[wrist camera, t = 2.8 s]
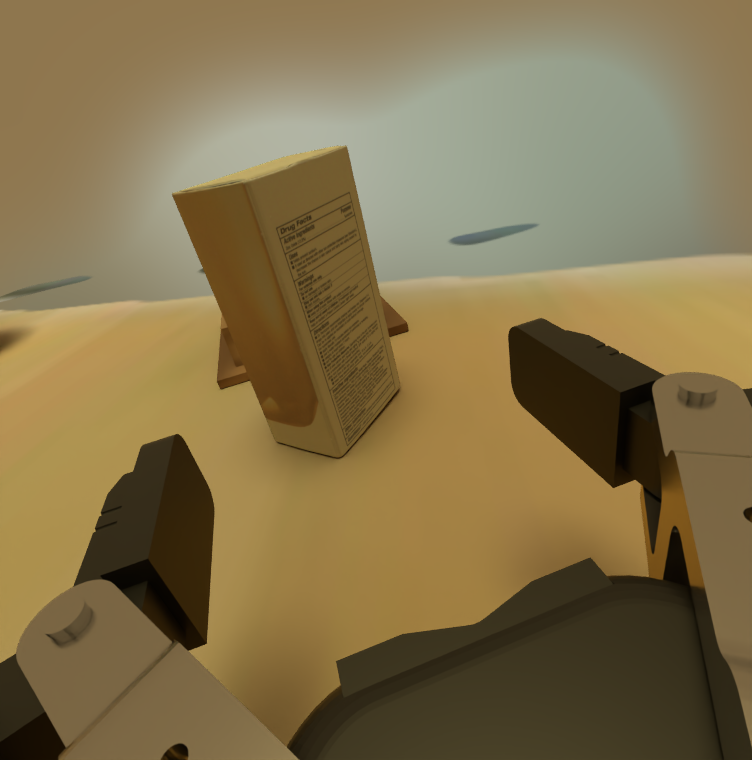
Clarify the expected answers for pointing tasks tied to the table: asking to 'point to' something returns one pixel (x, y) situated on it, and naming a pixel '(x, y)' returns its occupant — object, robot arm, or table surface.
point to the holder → (232, 364)
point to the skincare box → (298, 294)
